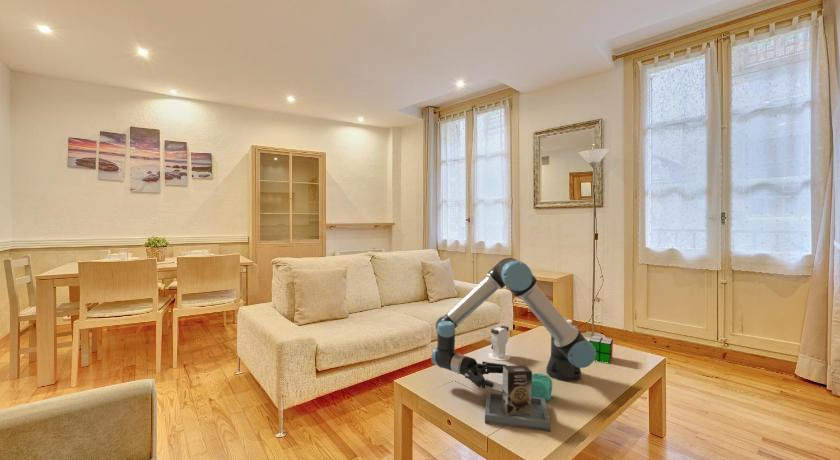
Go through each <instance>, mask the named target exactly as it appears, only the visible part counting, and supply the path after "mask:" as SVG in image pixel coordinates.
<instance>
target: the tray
mask: <svg viewBox="0 0 840 460" xmlns="http://www.w3.org/2000/svg"><path fill="white" fill-rule="evenodd" d="M485 396H486V399H485V400H486V401H485V410H484V424H489V425H495V426H496V425H497V426H504V427H505V426H506V427H511V428H520V429H529V430H536V431H543V432H551V420H550V416H549V411H548V408H547V407H548V406H547V403H546V402H547V401H545V398H542V397H533V396H531V414H530V415H510V416H508V415H507V414H506V413H505V411H504V410H503V408H502V392H499V391H497V392H495V391H486V395H485Z"/></svg>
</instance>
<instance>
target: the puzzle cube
mask: <svg viewBox="0 0 840 460" xmlns="http://www.w3.org/2000/svg"><path fill="white" fill-rule="evenodd" d="M613 340H614V339H613V338H609V337H604V336H603V337H602V336H597V335H592V336H591V337H590V338H589V340H588V341H589V342H590V343H591V344H592V345H593V346H594V348H595V350H596V356H595V360H597V361H596V362H600V361H603V362H602V363H604V362H608V363H607V364H609V363H610V362H611V363H612V360H611V359H613V349H614V348H613V347H614V346H613V345H614V341H613ZM611 363H610V364H611Z"/></svg>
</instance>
